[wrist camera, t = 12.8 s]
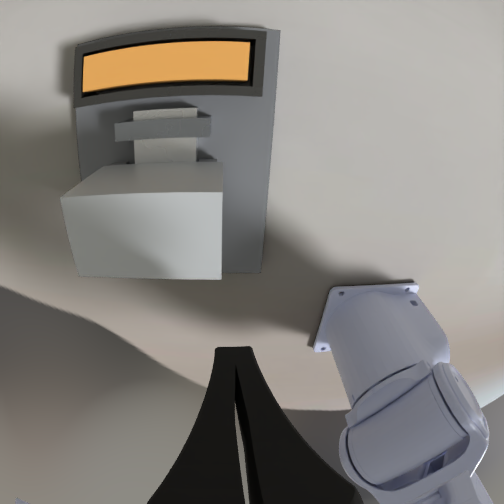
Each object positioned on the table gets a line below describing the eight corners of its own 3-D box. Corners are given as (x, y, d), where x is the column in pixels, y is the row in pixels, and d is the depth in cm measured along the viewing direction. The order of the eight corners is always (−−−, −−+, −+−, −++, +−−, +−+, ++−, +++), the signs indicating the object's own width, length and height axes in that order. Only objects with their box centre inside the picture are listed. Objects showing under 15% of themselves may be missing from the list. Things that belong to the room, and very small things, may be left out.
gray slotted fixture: (261, 39, 12) (266, 31, 10) (247, 260, 19) (249, 278, 18) (90, 51, 11) (75, 47, 9) (108, 259, 18) (98, 276, 17)
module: (223, 158, 16) (222, 192, 10) (221, 222, 18) (221, 279, 12) (108, 162, 15) (59, 197, 10) (115, 222, 17) (78, 276, 12)
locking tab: (246, 49, 12) (250, 42, 10) (244, 82, 13) (247, 79, 11) (99, 59, 11) (83, 56, 10) (98, 91, 12) (82, 92, 11)
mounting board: (277, 33, 13) (280, 30, 12) (259, 264, 21) (260, 272, 20) (84, 46, 12) (77, 44, 11) (103, 263, 20) (99, 270, 19)
